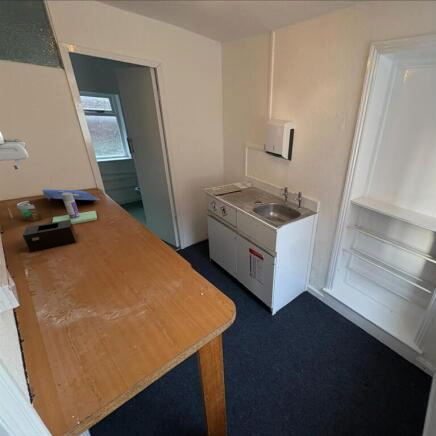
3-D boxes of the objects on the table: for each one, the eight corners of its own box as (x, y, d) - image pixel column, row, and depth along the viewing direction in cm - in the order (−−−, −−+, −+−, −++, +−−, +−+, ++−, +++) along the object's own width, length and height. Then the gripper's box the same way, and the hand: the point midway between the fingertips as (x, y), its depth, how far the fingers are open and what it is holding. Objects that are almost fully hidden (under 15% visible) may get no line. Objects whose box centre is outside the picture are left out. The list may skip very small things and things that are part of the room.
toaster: (30, 253, 107) (22, 236, 104) (33, 243, 116) (26, 226, 112) (76, 243, 117) (70, 227, 113) (76, 234, 125) (70, 219, 122)
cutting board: (52, 227, 131) (51, 225, 131) (54, 219, 141) (53, 217, 140) (97, 219, 143) (96, 217, 143) (96, 212, 153) (95, 210, 152)
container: (77, 215, 144) (69, 192, 138) (81, 216, 142) (73, 193, 137) (68, 217, 140) (59, 194, 134) (72, 219, 139) (63, 195, 133)
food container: (20, 218, 140) (13, 202, 136) (35, 215, 145) (28, 200, 141) (25, 223, 134) (18, 207, 130) (40, 220, 139) (33, 204, 135)
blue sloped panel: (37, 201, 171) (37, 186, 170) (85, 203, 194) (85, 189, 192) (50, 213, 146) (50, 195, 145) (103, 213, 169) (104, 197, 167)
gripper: (23, 138, 114) (35, 166, 119) (-45, 139, 101) (-29, 171, 107) (21, 139, 109) (33, 169, 115) (-50, 140, 97) (-33, 173, 103)
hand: (3, 170), depth 111 cm, fingers open, 8 cm apart
